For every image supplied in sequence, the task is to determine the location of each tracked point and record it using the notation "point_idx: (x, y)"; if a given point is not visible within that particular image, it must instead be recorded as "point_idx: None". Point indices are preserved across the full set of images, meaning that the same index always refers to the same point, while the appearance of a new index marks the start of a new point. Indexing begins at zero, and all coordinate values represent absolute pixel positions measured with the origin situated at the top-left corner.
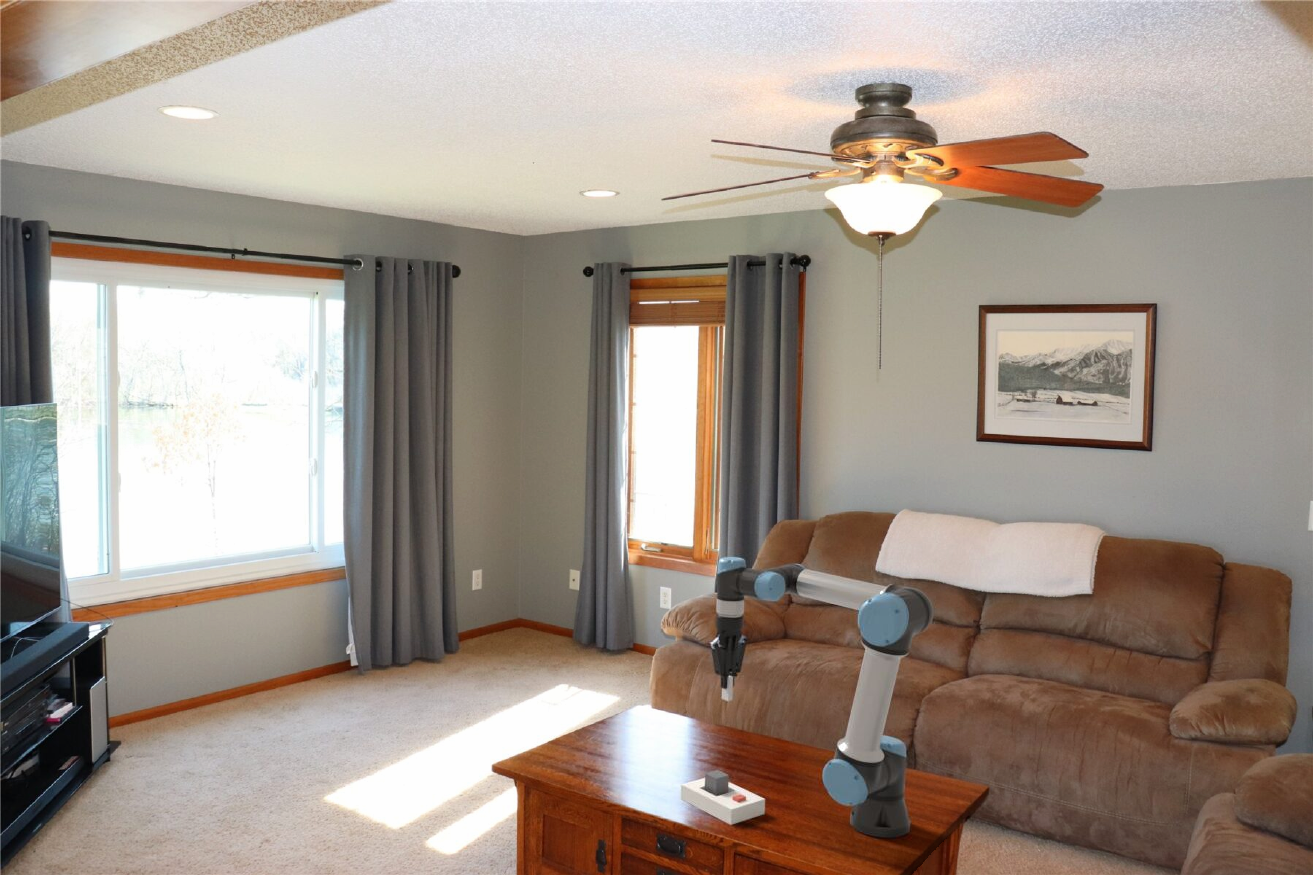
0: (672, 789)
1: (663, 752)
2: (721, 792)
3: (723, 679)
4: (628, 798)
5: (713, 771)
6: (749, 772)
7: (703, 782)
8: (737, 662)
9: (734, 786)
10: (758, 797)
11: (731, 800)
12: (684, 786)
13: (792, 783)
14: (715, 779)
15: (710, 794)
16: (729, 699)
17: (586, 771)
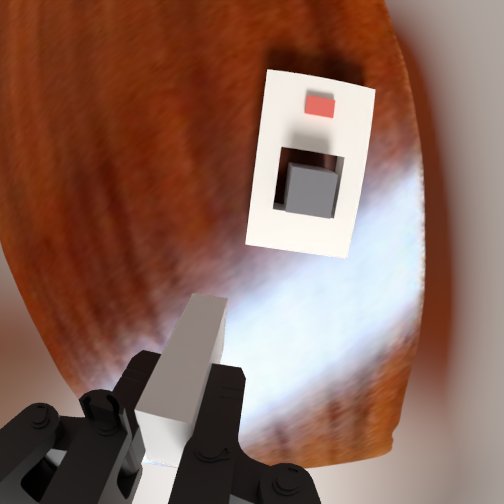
0: (310, 290)
1: None
2: (312, 167)
3: (237, 434)
4: (395, 311)
5: (303, 211)
6: (125, 244)
7: (301, 232)
8: (17, 489)
9: (263, 165)
10: (272, 84)
11: (337, 117)
12: (348, 247)
13: (99, 152)
14: (337, 176)
15: (345, 174)
16: (216, 301)
17: (344, 410)
